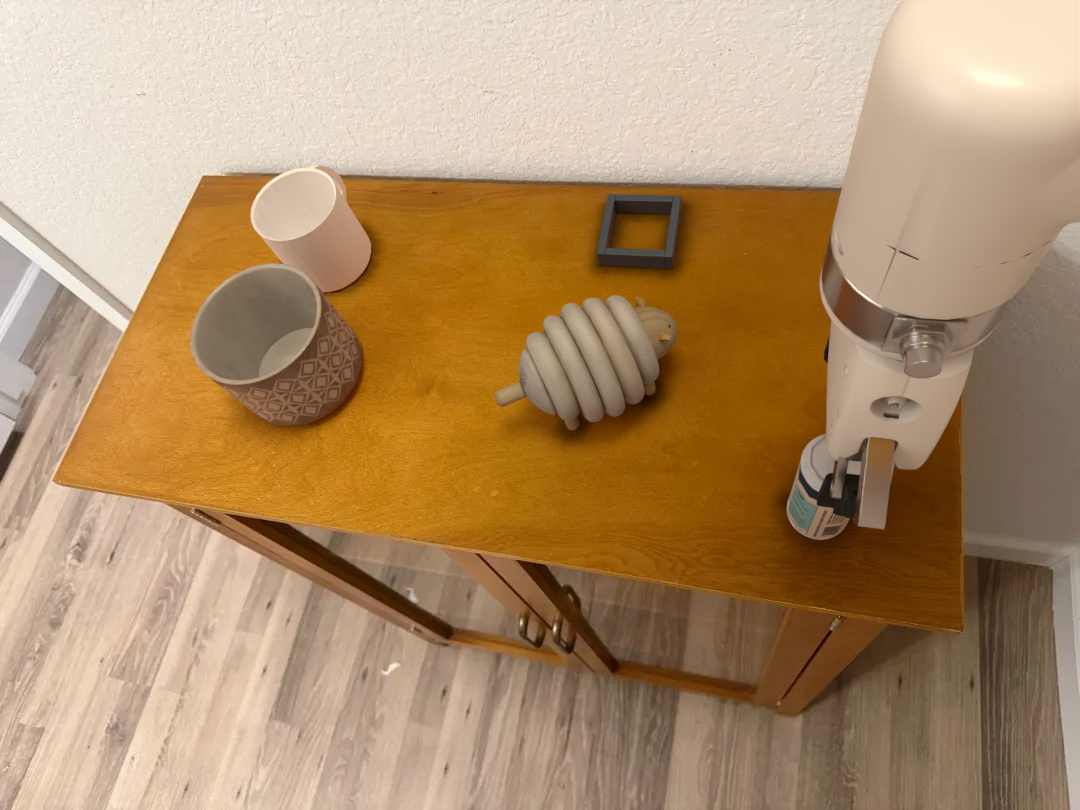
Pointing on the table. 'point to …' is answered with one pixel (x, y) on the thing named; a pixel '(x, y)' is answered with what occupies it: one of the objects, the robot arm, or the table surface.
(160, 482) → the table surface
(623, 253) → the holder
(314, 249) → the mug
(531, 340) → the toy sheep
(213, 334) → the planter
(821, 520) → the beer can
